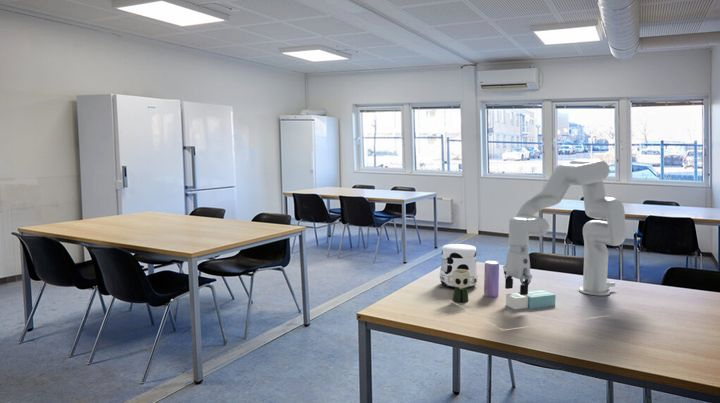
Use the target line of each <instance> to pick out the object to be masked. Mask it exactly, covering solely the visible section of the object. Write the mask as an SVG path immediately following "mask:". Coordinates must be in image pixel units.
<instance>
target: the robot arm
mask: <svg viewBox="0 0 720 403" xmlns="http://www.w3.org/2000/svg"><path fill="white" fill-rule="evenodd" d="M609 174H610V166H609V164H608V163H607V161H604V160H602V159H582V158H579V159H578V158H577V159H573V160H570V162H568V163H561V164H560V163H559V165H557V166H556V167H555V169H553V171H552V173H551V174H550V176H549V178H548V179H547V182H546V183H545V185H544V186H543V188H542V189H541V190H540V192H539V193H536V194H534V196H532V197H531V198H529V199H528V200H526V202H524V203H523V205H522V206H520V209H519V210H518V212H517V213H516V215H515V217H514V216H513V217H511V218H510V219H509V224H508V241H507V242H508V246H507V247H508V248H507V253H506V254H507V255H506V263H505V264H504V265H503V266H502V269H503V274H504V280H505V285H504V286H505V287H504V289H506V290H508V289H513V287H514V286H513V285H514V278H515V279H518V280H519V281H520V283H521V284H520V285H519V286H520V287H519V288H520V289H519V292H520V295H527V294H528V291H529V285H530V283H531V282H532V279H533V275H532V274H531V262H530V253H529V239H530V238H529V237H530V236H531V237H532V236H534V237H541V236H544V235H546V234H547V233H548V231H549V229H550V224H549V222H548V220H547V219H545V218H543V217H542V216H541V217H540V216H536V214H537V213H538V212H540V211H542V210H544V209H546V208H550V207H552V206H553V207H554V206H556V205H558V204H560V203H561V202H562V200H563V199H564V197H565V195H566V193H567V191H568V190H569V188H570V187H571V186H581V187H582V193H583V204H584V205H583V206H584V212H585V214H586V216H587V217H588V218H591V219H592V218H593V219H592V220H589V221H587V222H586V223H585V224H583V227H582V236H583V237H582V238H583V244H584V255H583V256H584V257H583V276H582V277H583V278H582V279H583V280H582V283H583V284H582V286H579V287H578V291H579V292H580V293H582V294H586V295H589V296H597V297H598V296H600V297H602V296H603V297H604V296H608V295H611V290H610V289H609V288H613V287H615V286H616V283H615V282H614V281H612V282H609V281H608V269H609V268H608V266H609V250H608V248H607V245H608V246H613V247H614V246H617V247H618V246H621V245H622V244H623V243H624V242H625V240H626V236H627V230H626V226H627V225H626V214H625V206H624V204H623V202H622V201H621V200H620V199H618V198H615V197H608V196H606V190H605V184H604V180H606V179H607V178H608V176H609Z"/></svg>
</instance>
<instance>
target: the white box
mask: <svg viewBox="0 0 720 403" xmlns="http://www.w3.org/2000/svg"><path fill="white" fill-rule="evenodd" d="M505 295H506V296H505V306H507V307H509V308H511V309H513V310H522V309H529V308H528V296H525V295H520V293H518V292H515V293H506V294H505Z"/></svg>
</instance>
